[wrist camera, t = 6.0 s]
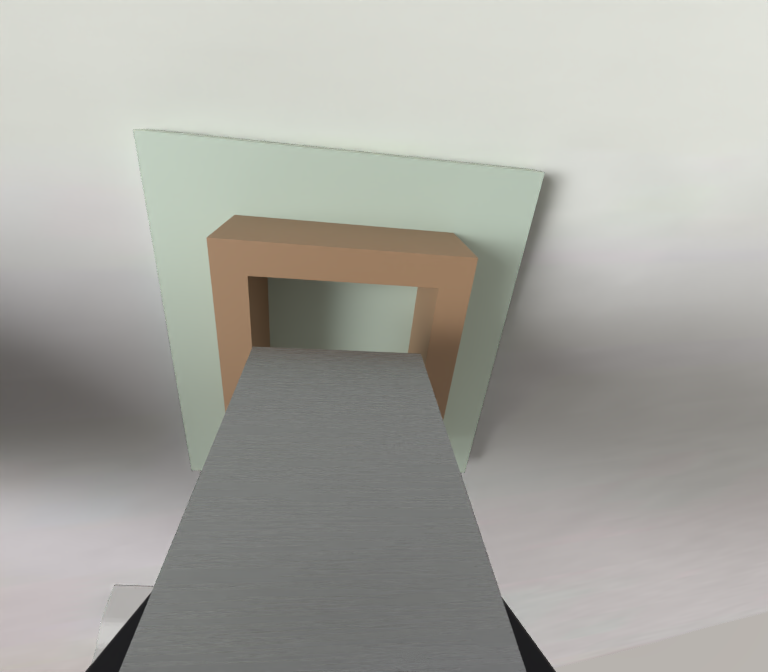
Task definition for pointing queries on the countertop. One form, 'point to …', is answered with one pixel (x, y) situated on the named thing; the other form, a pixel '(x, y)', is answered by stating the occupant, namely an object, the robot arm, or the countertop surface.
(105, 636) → the hinge
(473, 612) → the brushed grey metal block
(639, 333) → the countertop surface
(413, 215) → the post socket
